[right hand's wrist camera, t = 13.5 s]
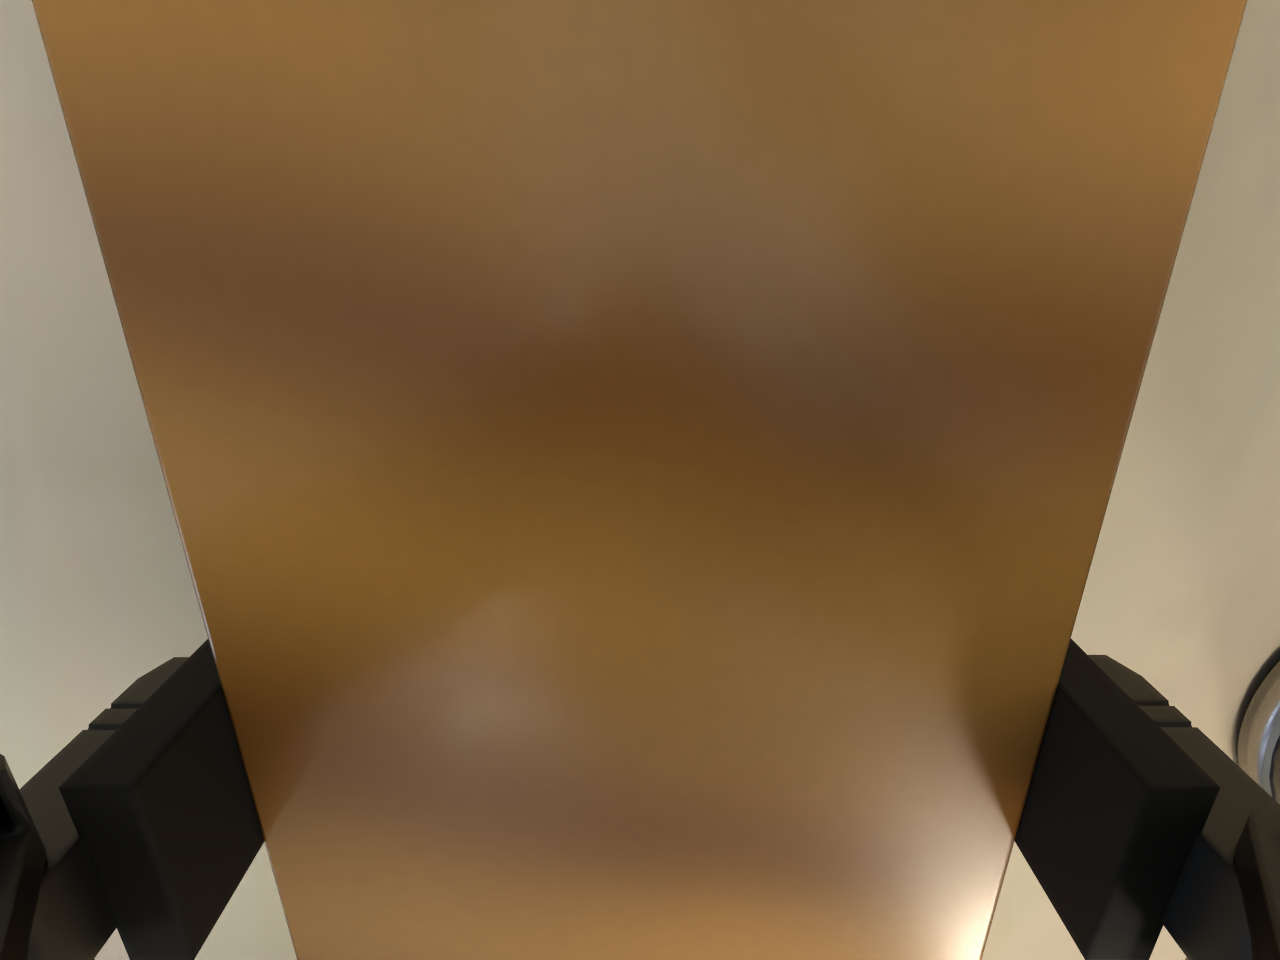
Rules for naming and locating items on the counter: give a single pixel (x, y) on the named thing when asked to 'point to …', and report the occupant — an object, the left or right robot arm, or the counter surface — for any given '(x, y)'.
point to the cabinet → (639, 435)
